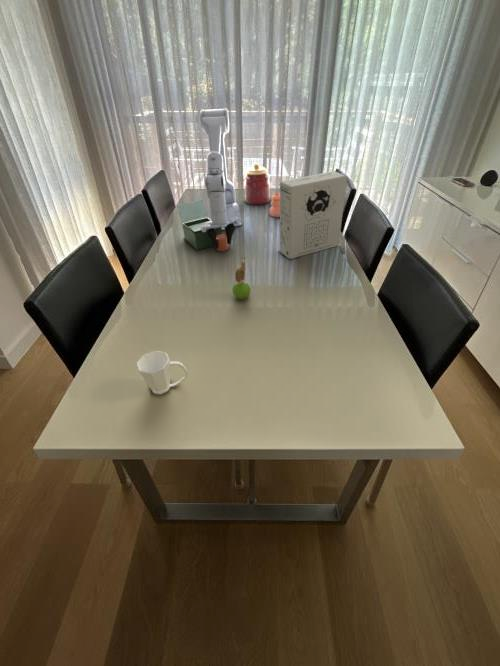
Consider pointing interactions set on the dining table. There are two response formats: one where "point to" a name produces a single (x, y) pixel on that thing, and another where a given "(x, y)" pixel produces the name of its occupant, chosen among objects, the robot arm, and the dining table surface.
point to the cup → (158, 371)
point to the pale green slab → (192, 210)
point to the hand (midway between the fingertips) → (222, 245)
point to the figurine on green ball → (241, 283)
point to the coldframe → (198, 233)
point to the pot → (222, 242)
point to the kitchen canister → (257, 185)
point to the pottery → (275, 205)
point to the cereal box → (311, 213)
